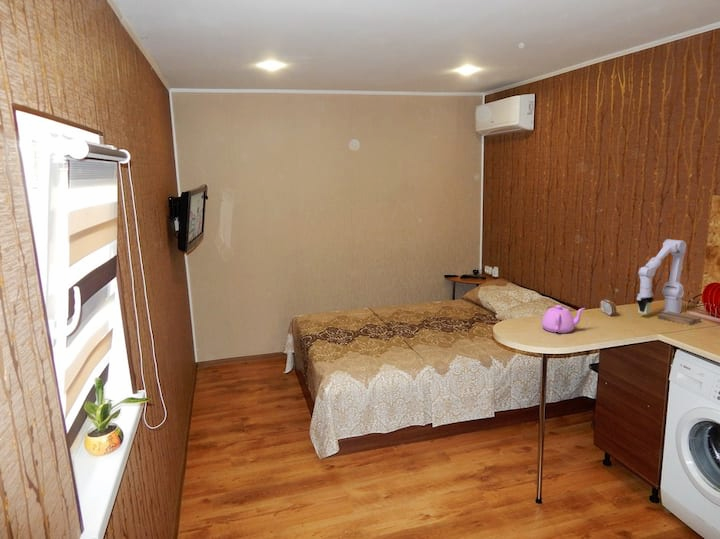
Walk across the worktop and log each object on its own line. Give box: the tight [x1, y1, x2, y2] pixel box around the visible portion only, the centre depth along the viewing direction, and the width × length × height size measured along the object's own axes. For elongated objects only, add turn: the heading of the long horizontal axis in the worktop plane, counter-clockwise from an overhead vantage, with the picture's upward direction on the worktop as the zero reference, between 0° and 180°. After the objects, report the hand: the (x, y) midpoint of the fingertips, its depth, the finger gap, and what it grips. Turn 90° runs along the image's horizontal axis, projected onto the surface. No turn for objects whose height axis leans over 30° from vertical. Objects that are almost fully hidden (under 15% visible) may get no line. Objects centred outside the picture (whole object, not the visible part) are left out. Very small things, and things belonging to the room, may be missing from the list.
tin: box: [600, 298, 617, 317], centre depth 286 cm, size 15×3×8 cm, turn 179°
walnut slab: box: [657, 312, 701, 326], centre depth 268 cm, size 11×17×3 cm, turn 28°
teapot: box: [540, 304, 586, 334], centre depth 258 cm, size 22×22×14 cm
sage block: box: [637, 302, 652, 315], centre depth 276 cm, size 4×4×6 cm
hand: (644, 310), depth 276 cm, fingers closed on sage block, 4 cm apart
